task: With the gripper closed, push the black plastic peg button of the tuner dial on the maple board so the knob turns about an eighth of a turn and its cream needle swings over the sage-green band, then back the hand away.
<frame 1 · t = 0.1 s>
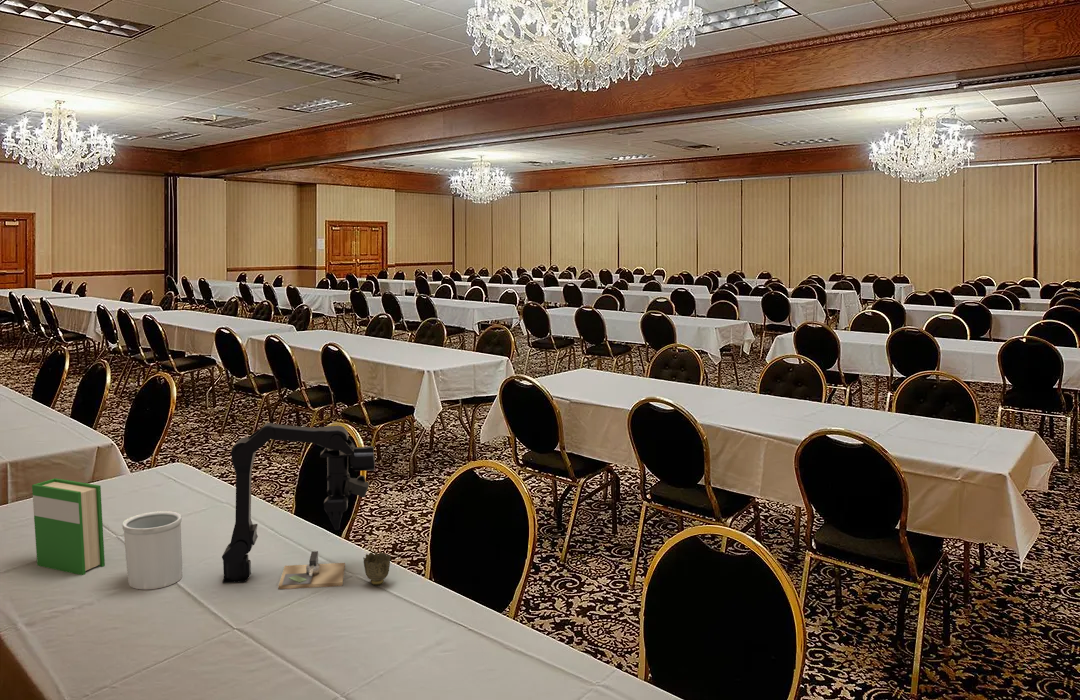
hand: (338, 524, 236), 15 cm above the table, fingers open, 9 cm apart
hardback book: (71, 566, 239), on the table
peg knob: (312, 566, 234), point 3 cm above the table, hinge at 0.0°
cup: (377, 584, 231), on the table
utensil holder: (155, 580, 231), on the table
tuner board: (312, 577, 234), on the table
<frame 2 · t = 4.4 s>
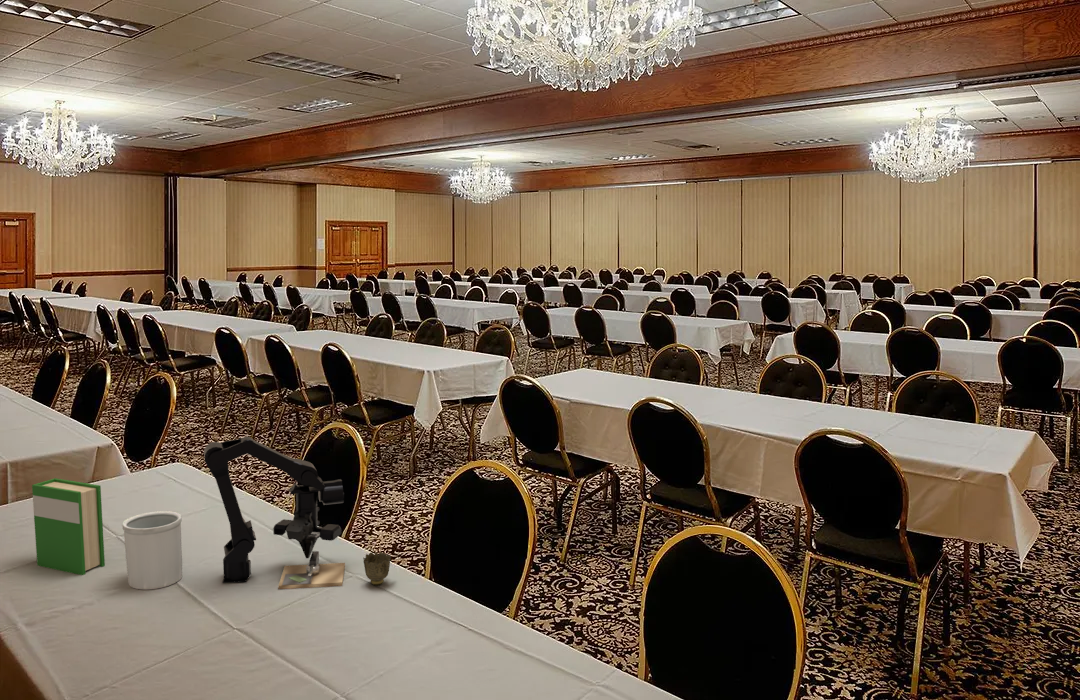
hand: (307, 557, 240), 3 cm above the table, fingers closed
peg knob: (312, 566, 234), point 3 cm above the table, hinge at -1.9°, touching gripper
everything else where it was.
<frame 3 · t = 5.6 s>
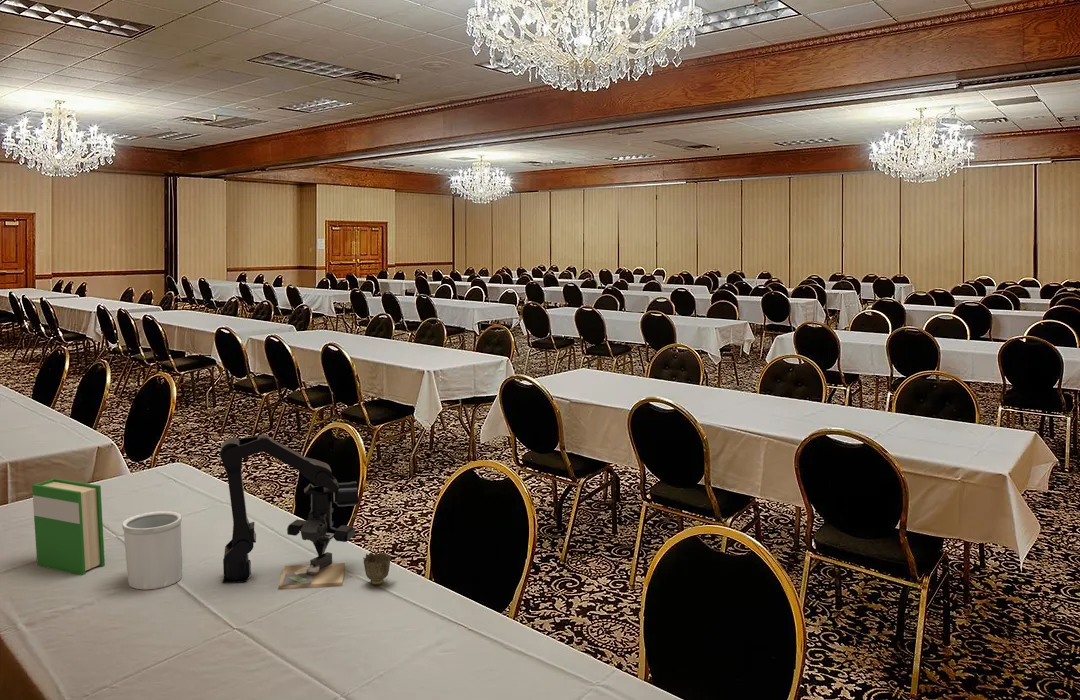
hand: (321, 558, 240), 3 cm above the table, fingers closed
peg knob: (313, 566, 234), point 3 cm above the table, hinge at -37.9°, touching gripper
everything else where it was.
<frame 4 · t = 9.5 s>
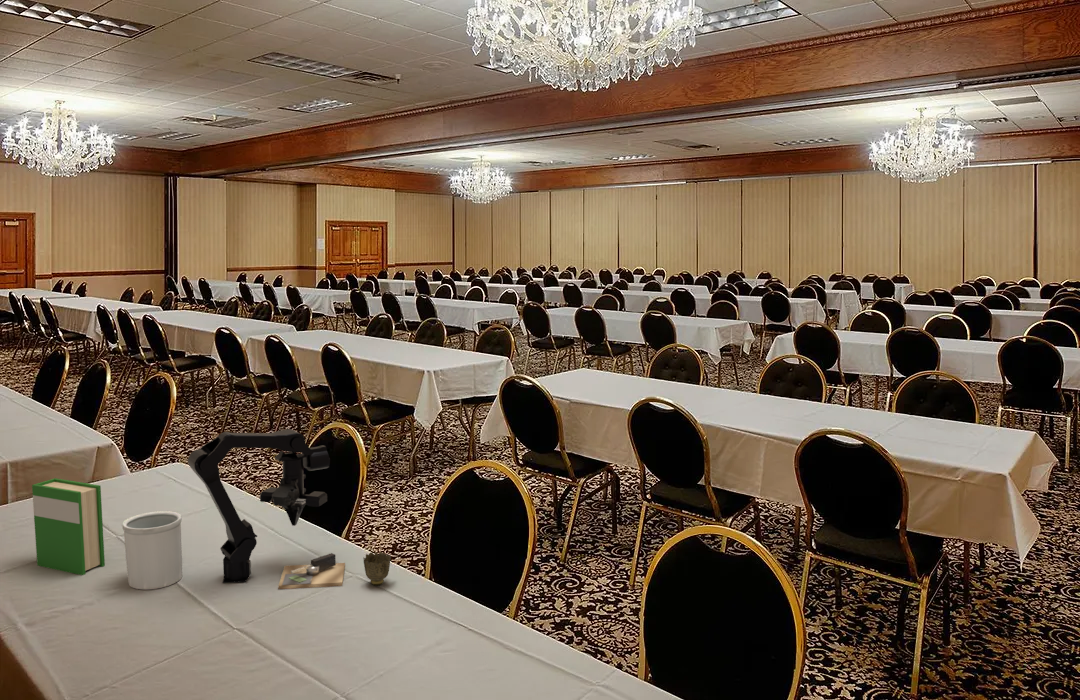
hand: (294, 525, 241), 12 cm above the table, fingers closed
peg knob: (313, 566, 234), point 3 cm above the table, hinge at -51.4°
everything else where it was.
at the end: peg knob at -51° (first picture: +0°) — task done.
